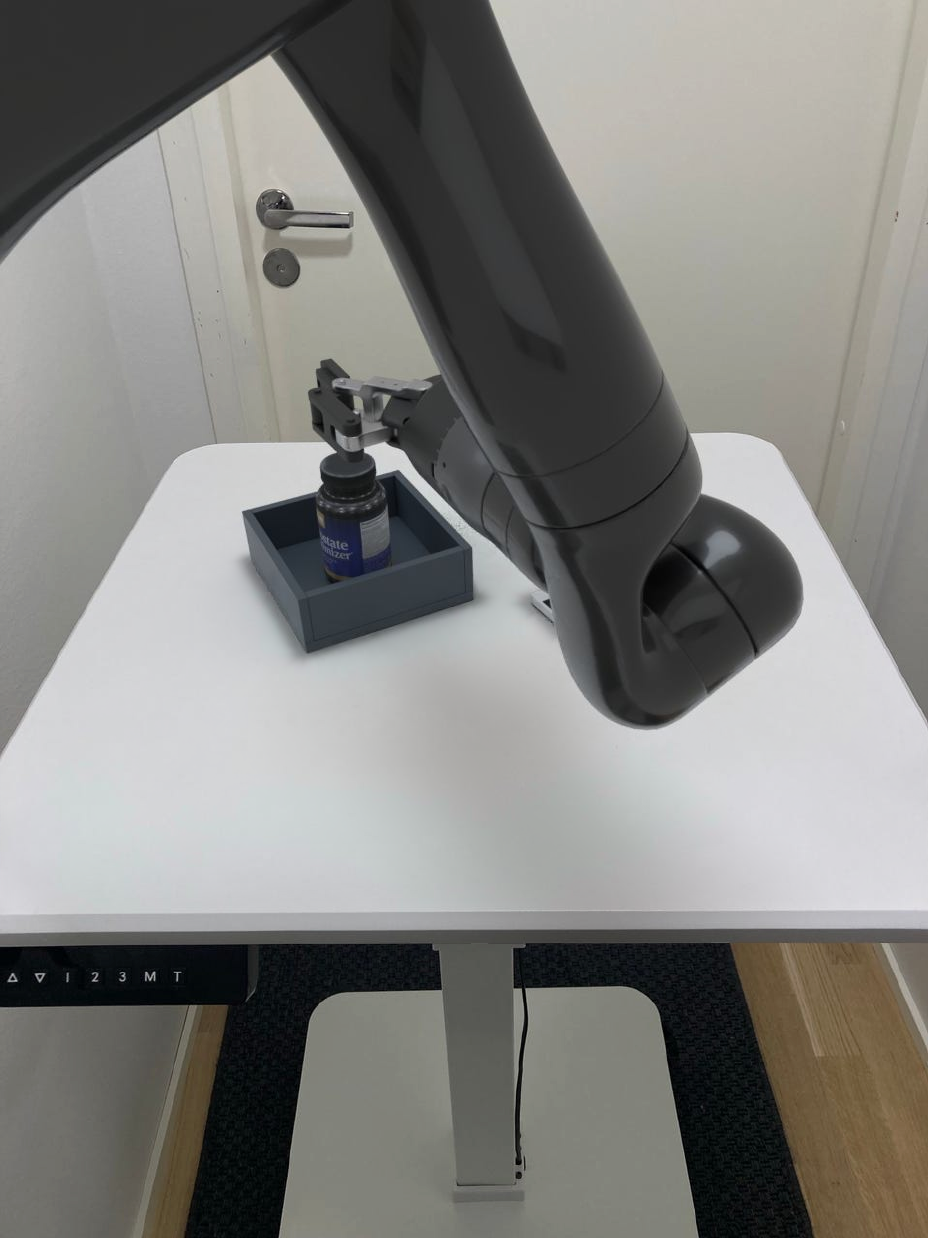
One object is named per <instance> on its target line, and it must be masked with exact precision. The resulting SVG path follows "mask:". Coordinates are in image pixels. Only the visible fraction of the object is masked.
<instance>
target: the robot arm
mask: <svg viewBox="0 0 928 1238" xmlns="http://www.w3.org/2000/svg"><path fill="white" fill-rule="evenodd" d="M505 40H506V39H505V38H504V35H503V32H502V30H501V27H500V25H499V22H498V20H497V17H496V15H495V13H494V10H493V7H492V5H491V1H490V0H0V266H1V265H2V264H3V262H4V261H5V260H6V259H7V258H8V256H9V255H10V254H11V252H12V251H13V250H14V249H15V248H16V247H17V245H18V244H19V243H20V242H21V241H22V239H24V237H25V236H26V235H28V233H29V232H30V231H32V229H33V228H34V227H35V226H36V224H38V222H40V221H41V219H43V217H44V216H45V215H47V213H49V212H50V211H51V210H52V209H53V208H54V207H56V206H57V205H58V204H59V203H60V202H62V200H64V198H66V197H67V196H68V195H69V194H70V193H71V192H73V191H74V190H75V189H76V188H78V187H79V186H80V185H82V184H83V183H84V182H86V181H87V180H89V179H90V178H91V177H92V176H94V175H95V174H96V173H98V172H99V171H100V170H102V169H103V168H104V167H105V166H107V165H108V164H110V163H111V162H112V161H114V160H116V159H117V158H118V157H120V156H121V155H123V154H124V153H125V152H127V151H128V150H130V149H131V148H133V147H134V146H135V145H137V144H138V143H140V142H141V141H143V140H144V139H146V138H147V137H149V136H150V135H152V134H153V133H154V132H156V131H157V130H159V129H160V128H162V127H163V126H164V125H166V124H167V123H169V122H170V121H171V120H173V119H175V118H176V117H178V116H179V115H180V114H182V113H184V112H185V111H186V110H188V109H189V108H190V107H192V106H193V105H195V104H196V103H198V102H199V101H201V100H202V99H204V98H206V97H207V96H208V95H210V94H212V93H213V92H214V91H216V90H218V89H219V88H221V87H222V86H224V85H225V84H227V83H228V82H231V81H232V80H233V79H235V78H236V77H237V76H239V75H241V74H243V73H244V72H246V71H247V70H249V69H251V68H252V67H254V66H255V65H257V64H258V63H260V62H262V61H263V60H265V59H266V58H267V57H269V56H270V57H271V59H272V60H273V62H274V63H275V64H276V65H277V66H278V68H279V69H280V71H281V72H282V73H283V74H284V76H285V77H286V79H287V80H288V82H289V83H290V84H291V86H292V87H293V89H294V91H295V92H296V93H297V94H298V96H299V97H300V99H301V101H302V102H303V104H304V105H305V107H306V109H307V110H308V111H309V113H310V114H311V116H312V118H313V119H314V122H315V123H316V124H317V125H318V127H319V129H320V131H321V132H322V134H323V135H324V137H325V139H326V140H327V143H328V144H329V145H330V147H331V149H332V151H333V152H334V154H335V156H336V158H337V159H338V160H339V161H338V162H340V165H341V166H342V167H343V169H344V171H345V173H346V175H347V177H348V179H349V181H350V183H351V184H352V186H353V188H354V190H355V192H356V193H357V196H358V197H359V200H360V201H361V203H362V205H363V207H364V208H365V210H366V213H367V214H368V217H369V219H370V221H371V223H372V225H373V227H374V229H375V231H376V234H377V236H378V237H379V240H380V242H381V244H382V246H383V249H384V250H385V252H386V254H387V257H388V259H389V261H390V263H391V266H392V268H393V270H394V273H395V275H396V277H397V279H398V282H399V284H400V286H401V288H402V291H403V293H404V295H405V297H406V299H407V302H408V304H409V307H410V309H411V311H412V314H413V316H414V318H415V320H416V322H417V325H418V327H419V329H420V332H421V334H422V336H423V338H424V340H425V343H426V345H427V347H428V349H429V351H430V354H431V356H432V358H433V360H434V363H435V364H436V367H437V369H438V371H439V373H440V374H435V375H432V376H429V377H426V378H425V379H424V378H423V379H416V378H413V379H411V380H410V381H408V380H401V379H396V378H389V377H384V376H378V375H373V376H372V377H371V378H369V379H368V380H367V381H365V380H360V379H353V378H351V375H349V373H348V372H346V371H345V370H344V369H343V368H342V367H341V366H340V365H339V364H338V363H337V362H336V361H335V360H333V358H326V359H322V360H320V361H319V364H320V365H319V366H320V367H319V368H315V376H316V377H315V378H316V384H317V387H312V388H310V389H309V390H308V391H307V396H308V401H309V406H310V413H311V426H312V430H313V431H314V432H315V434H317V435H318V436H319V437H320V438H321V439H322V440H323V441H324V442H325V443H326V444H327V445H329V447H330V448H331V449H332V450H333V451H335V453H338V454H339V455H340V456H341V457H342V458H343V459H344V460H345V461H347V462H349V463H357V462H361V461H363V460H364V459H365V453H366V452H365V448H368V447H371V446H375V445H379V444H383V443H385V444H386V445H388V446H390V447H391V448H395V449H398V450H401V451H402V452H404V453H405V455H406V457H407V458H408V460H409V462H410V464H411V465H412V467H413V468H414V470H415V471H416V473H417V474H418V475H419V476H420V477H421V478H422V480H424V482H426V483H427V484H428V486H430V487H431V488H432V489H433V490H434V491H435V492H436V493H437V495H439V496H440V498H441V499H443V501H444V502H445V503H446V504H447V505H448V506H449V507H451V509H452V510H453V511H454V512H455V513H456V514H457V515H458V516H459V517H460V518H461V519H462V520H463V521H464V522H465V523H466V524H467V525H468V526H469V527H470V528H471V529H472V530H474V531H475V532H476V533H478V535H480V536H481V537H483V538H485V539H486V540H488V541H489V542H491V543H492V544H493V545H494V546H495V547H496V548H497V549H498V551H500V552H501V553H502V554H503V555H504V556H505V558H507V559H508V560H509V561H510V562H511V563H512V565H514V566H515V567H516V569H518V571H519V572H520V573H521V574H523V576H525V577H526V578H527V579H528V580H529V582H530V583H532V584H533V585H534V586H535V587H537V588H538V589H539V590H542V591H544V592H546V593H547V594H549V599H550V605H551V610H552V615H553V620H554V622H553V625H554V629H555V633H556V638H557V641H558V644H559V648H560V651H561V654H562V657H563V661H564V663H565V665H566V667H567V669H568V672H569V674H570V676H571V678H572V681H574V683H575V685H576V687H577V688H578V690H579V692H580V693H581V694H582V696H583V697H584V699H586V701H587V702H588V703H589V704H590V705H591V707H593V708H594V709H595V710H596V711H597V712H598V713H599V714H601V715H602V716H603V717H604V718H606V719H607V720H610V721H611V722H612V723H615V724H617V725H619V726H621V727H625V728H629V729H633V730H641V731H652V730H659V729H663V728H667V727H670V726H671V725H673V724H674V723H676V722H678V721H680V720H681V719H683V718H684V717H686V716H687V715H688V714H690V713H691V712H692V711H694V710H695V709H696V708H697V707H698V706H700V705H701V704H702V703H704V702H705V701H706V700H707V699H708V698H709V697H711V696H712V695H714V694H715V693H716V692H717V691H719V690H720V689H721V688H722V687H723V686H725V685H726V684H728V682H730V681H731V680H732V679H733V678H734V677H736V676H737V675H738V674H740V673H741V672H742V671H744V670H745V669H746V668H747V667H748V666H750V665H751V664H752V663H753V662H755V661H756V660H757V659H759V658H761V656H763V655H764V654H765V653H766V652H768V651H769V650H770V649H772V648H773V647H774V646H776V644H778V643H779V642H780V641H781V640H783V638H785V637H787V635H788V634H789V632H790V631H791V630H792V629H793V628H794V627H795V625H796V624H797V622H798V620H799V618H800V617H801V614H802V611H803V610H802V609H803V604H804V600H805V597H804V583H803V578H802V574H801V572H800V569H799V567H798V564H797V562H796V559H795V558H794V557H793V554H792V553H791V552H790V550H789V548H788V547H787V546H786V544H785V543H784V542H783V541H782V540H781V538H780V537H779V536H778V535H777V534H776V533H775V532H774V531H773V530H771V528H769V527H768V526H767V525H766V524H764V523H763V522H762V521H761V520H759V519H758V518H756V517H754V516H753V515H751V514H750V513H749V512H747V511H745V510H743V509H742V508H739V506H736V505H733V504H731V503H729V502H727V501H725V500H722V499H719V498H716V497H715V496H711V495H709V494H705V493H702V490H703V489H702V488H703V470H702V469H703V468H702V463H701V460H700V457H699V454H698V453H699V452H698V450H697V448H696V444H695V443H694V442H695V441H694V440H693V437H692V435H691V433H690V430H689V427H688V426H687V424H686V422H685V419H684V416H683V414H682V412H681V409H680V407H679V405H678V402H677V400H676V397H675V396H674V393H673V391H672V389H671V386H670V384H669V381H668V379H667V377H666V374H665V372H664V369H663V367H662V364H661V362H660V360H659V358H658V356H657V353H656V351H655V349H654V346H653V344H652V342H651V340H650V338H649V335H648V333H647V331H646V329H645V327H644V325H643V323H642V320H641V318H640V316H639V314H638V311H637V310H636V308H635V305H634V304H633V302H632V299H631V297H630V296H629V294H628V291H627V290H626V287H625V285H624V284H623V282H622V279H621V278H620V276H619V274H618V272H617V270H616V268H615V266H614V264H613V262H612V260H611V258H610V255H608V253H607V251H606V249H605V247H604V244H603V243H602V241H601V239H600V238H599V235H598V233H597V232H596V230H595V228H594V225H593V224H592V223H591V220H590V219H589V216H588V215H587V212H586V211H585V208H584V206H583V205H582V203H581V201H580V199H579V197H578V195H577V193H576V191H575V190H574V188H573V186H572V184H571V182H570V179H569V178H568V176H567V174H566V172H565V170H564V168H563V166H562V164H561V162H560V160H559V158H558V157H557V154H556V152H555V151H554V148H553V146H552V145H551V142H550V140H549V138H548V136H547V134H546V132H545V129H544V127H543V125H542V123H541V121H540V119H539V117H538V115H537V113H536V111H535V109H534V106H533V104H532V102H531V100H530V97H529V94H528V93H527V90H526V88H525V85H524V83H523V80H522V79H521V77H520V74H519V72H518V70H517V68H516V65H515V63H514V60H513V58H512V56H511V53H510V51H509V48H508V46H507V43H506V41H505ZM383 395H385V396H390V397H389V399H388V400H387V403H386V404H385V407H384V396H383ZM354 396H355V397H359V398H360V399H361V401H362V408H357V407H355V398H354ZM364 452H365V453H364Z"/></svg>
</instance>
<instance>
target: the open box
mask: <svg viewBox="0 0 928 1238" xmlns="http://www.w3.org/2000/svg"><path fill="white" fill-rule="evenodd" d="M375 479H376V480H378V481H379V482H380V483H381V484H382V485H383V487H384V488H385V490H386V496H387V508H388V520H389V533H390V546H391V559H392V566H391V567H387V568H384V569H381V570H377V571H374V572H371V573H367V574H364V575H361V576H358V577H354V578H351V579H348V580H344V581H341V582H338V583H333V582H332V581H330V580H329V578H327V576H326V574H325V571H324V563H323V555H322V547H321V539H320V531H319V524H318V516H317V508H316V494H317V491H313V492H310V493H306V494H302V495H298V496H294V497H291V498H286V499H283V500H279V501H276V502H271V503H268V504H264V505H260V506H256V507H253V508H249V509H245V510H242V511H241V515H242V521H243V525H244V530H245V536H246V539H247V545H248V551H249V556H250V561H251V563H252V565H253V566H254V568H255V569H256V571H257V573H258V575H259V577H261V580H262V581H263V583H264V585H265V586H266V588H267V589H268V591H269V593H270V595H271V596H272V598H273V599H274V601H275V603H276V605H277V606H278V608H279V610H280V612H281V613H282V614H283V616H284V618H285V619H286V621H287V624H289V626H290V629H292V631H293V633H294V634H295V636H296V638H297V639H298V641H299V643H300V645H301V646H302V648H303V650H304V652H305V653H306V654H309V653H311V652H314V651H317V650H321V649H324V648H328V647H330V646H333V645H336V644H339V643H342V642H345V641H348V640H349V641H350V640H352V639H355V638H358V637H361V636H364V635H367V634H371V633H373V632H377V631H380V630H382V629H386V628H389V627H392V626H395V625H398V624H401V623H405V622H408V621H411V620H413V619H417V618H420V617H423V616H427V615H430V614H432V613H435V612H438V611H441V610H445V609H447V608H451V607H454V606H457V605H460V604H463V603H466V602H470V601H473V600H474V597H475V595H474V562H473V560H474V559H473V556H474V555H473V546H472V545H471V544H470V543H469V542H468V541H467V540H466V539H465V538H464V537H463V536H462V535H461V534H460V532H459V531H457V530H456V528H455V527H453V525H452V524H451V523H450V522H449V521H448V520H447V518H445V517H444V516H443V515H442V513H440V511H438V509H436V507H435V506H434V505H433V504H432V503H431V502H430V501H429V500H428V499H427V497H425V496H424V495H423V494H422V493H421V491H420V490H419V489H418V488H417V487H416V486H415V485H414V484H413V483H412V482H411V481H410V480H409V479H408V478H407V477H406V476H405V475H404V474H403V472H401V471H400V469H397V470H391V471H390V472H385V473H381V474H378V475H376V477H375Z"/></svg>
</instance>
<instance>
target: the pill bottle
mask: <svg viewBox="0 0 928 1238" xmlns="http://www.w3.org/2000/svg"><path fill="white" fill-rule="evenodd" d="M364 453H365V459H364V460H363V461H361V462H357V463H349V462H347V461H345V460H344V459H343V458H342V457H341V456H340V455H339V454H338V453H337V452H333V453H330V454H328V455H327V456H325V457H324V458H323V459H322V460H320V464H319V472H320V480H321V482H322V484H321V485H320V486H319V487H318V489H317V491H316V492H317V494H316V508H317V516H318V524H319V531H320V539H321V547H322V555H323V563H324V571H325V574H326V576H327V578H329V580H330V581H332V582H333V583H338V582H341V581H344V580H348V579H351V578H354V577H358V576H361V575H364V574H367V573H371V572H374V571H377V570H381V569H384V568H387V567H391V566H392V559H391V546H390V533H389V520H388V508H387V496H386V490H385V488H384V487H383V485H382V484H381V483H380V482H379V481H378V480H376V479H375V477H376V476H377V464H376V460H375V458H374V457H373V455H371V454H369V453H367V452H365V451H364Z"/></svg>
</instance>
